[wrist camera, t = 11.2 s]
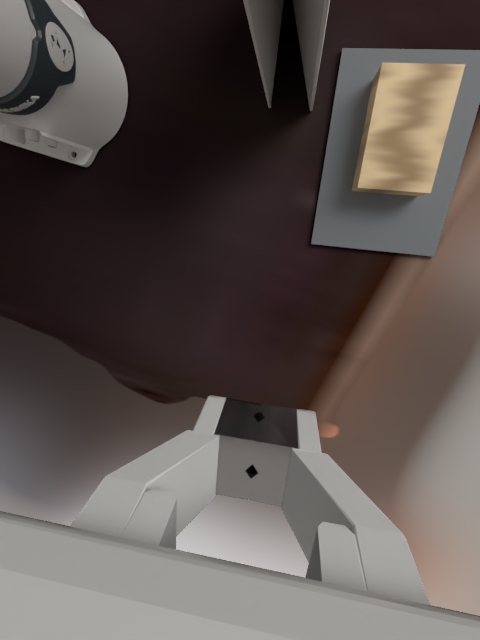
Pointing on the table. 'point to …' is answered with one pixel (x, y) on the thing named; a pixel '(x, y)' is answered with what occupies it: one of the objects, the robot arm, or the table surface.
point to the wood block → (406, 127)
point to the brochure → (265, 29)
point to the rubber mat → (343, 149)
